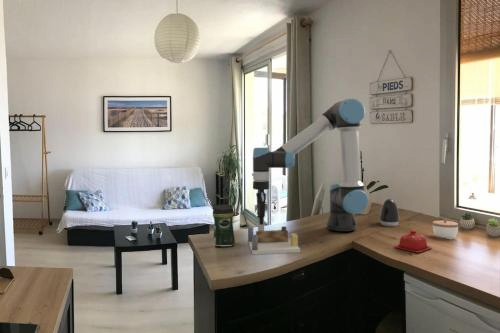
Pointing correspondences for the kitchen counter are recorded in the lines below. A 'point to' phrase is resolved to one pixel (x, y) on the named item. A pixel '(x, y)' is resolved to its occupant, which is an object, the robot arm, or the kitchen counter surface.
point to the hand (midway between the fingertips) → (260, 230)
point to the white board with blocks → (272, 245)
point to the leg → (273, 235)
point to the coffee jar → (223, 225)
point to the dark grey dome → (389, 213)
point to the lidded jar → (445, 229)
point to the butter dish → (413, 242)
